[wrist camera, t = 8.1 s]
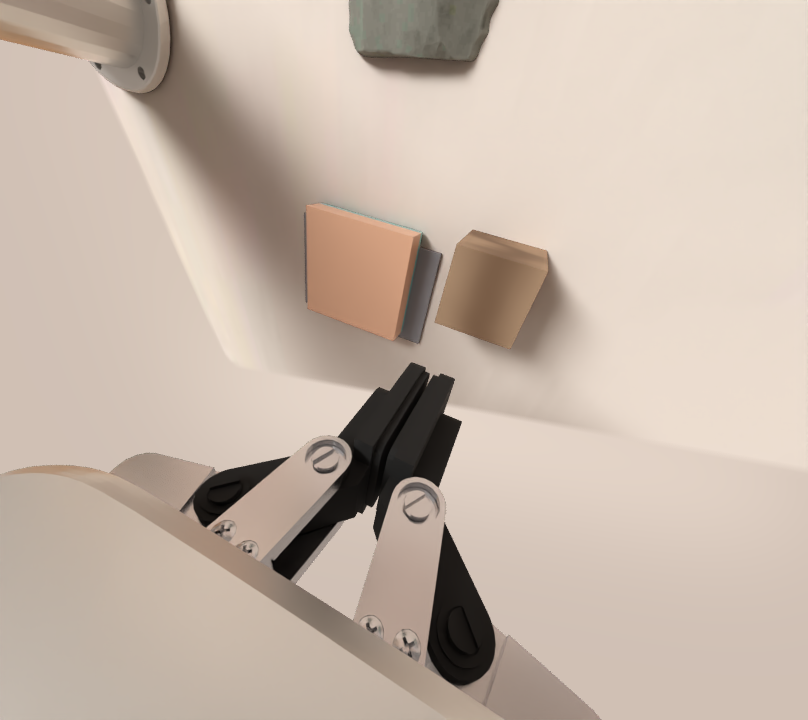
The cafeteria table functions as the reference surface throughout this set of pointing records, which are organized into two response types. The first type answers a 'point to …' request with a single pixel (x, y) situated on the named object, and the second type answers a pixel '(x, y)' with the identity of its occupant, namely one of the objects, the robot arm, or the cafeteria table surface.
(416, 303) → the mat
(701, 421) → the cafeteria table surface
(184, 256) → the cafeteria table surface
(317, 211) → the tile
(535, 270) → the walnut block
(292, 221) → the cafeteria table surface
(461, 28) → the stone slab
